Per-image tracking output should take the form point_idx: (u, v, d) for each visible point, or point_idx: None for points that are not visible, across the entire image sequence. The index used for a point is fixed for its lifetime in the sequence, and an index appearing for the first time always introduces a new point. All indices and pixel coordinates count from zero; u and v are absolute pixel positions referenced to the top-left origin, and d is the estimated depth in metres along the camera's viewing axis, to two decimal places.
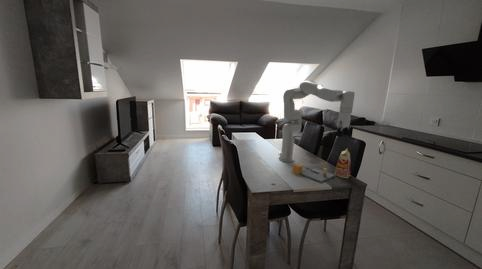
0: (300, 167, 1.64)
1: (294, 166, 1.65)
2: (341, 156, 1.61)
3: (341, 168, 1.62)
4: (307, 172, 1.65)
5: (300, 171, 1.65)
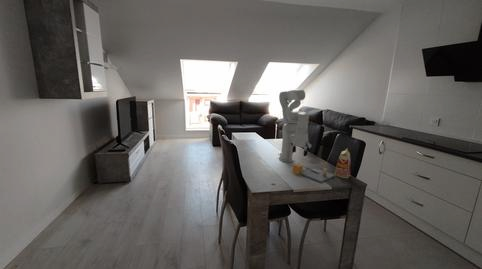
0: (300, 167, 1.64)
1: (294, 166, 1.65)
2: (341, 156, 1.61)
3: (341, 168, 1.62)
4: (307, 172, 1.65)
5: (300, 171, 1.65)
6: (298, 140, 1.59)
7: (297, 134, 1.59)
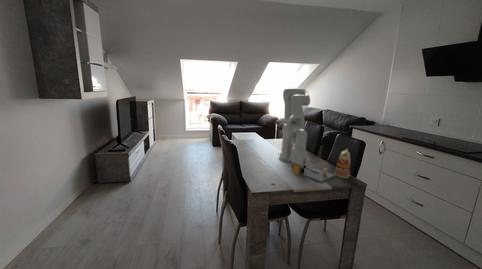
0: (300, 167, 1.64)
1: (294, 166, 1.65)
2: (341, 156, 1.61)
3: (341, 168, 1.62)
4: (307, 172, 1.65)
5: (300, 171, 1.65)
6: (296, 158, 1.62)
7: (295, 152, 1.62)
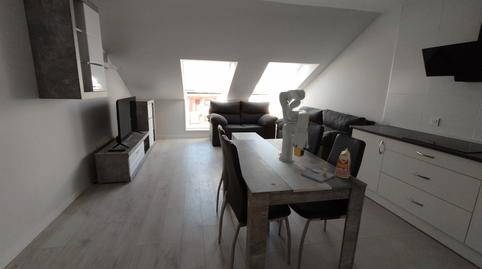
0: None
1: (296, 149, 1.63)
2: (341, 156, 1.61)
3: (341, 168, 1.62)
4: (307, 172, 1.65)
5: None
6: (297, 139, 1.60)
7: (297, 133, 1.60)
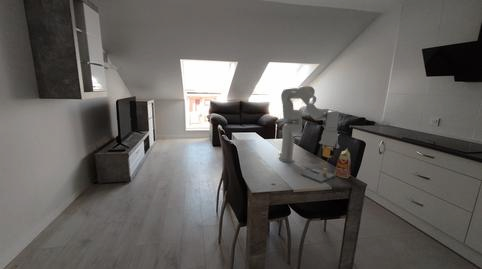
0: None
1: (324, 149, 1.56)
2: (341, 156, 1.61)
3: (341, 168, 1.62)
4: (307, 172, 1.65)
5: None
6: (327, 139, 1.53)
7: (326, 133, 1.53)
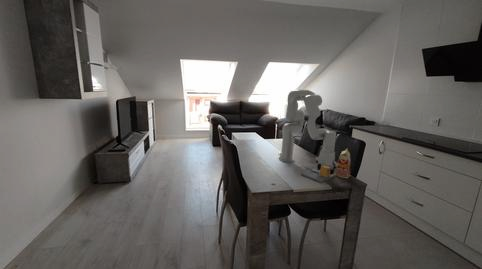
0: (328, 169, 1.58)
1: (322, 168, 1.59)
2: (341, 156, 1.61)
3: (341, 168, 1.62)
4: (307, 172, 1.65)
5: (328, 174, 1.59)
6: (324, 159, 1.57)
7: (323, 152, 1.57)
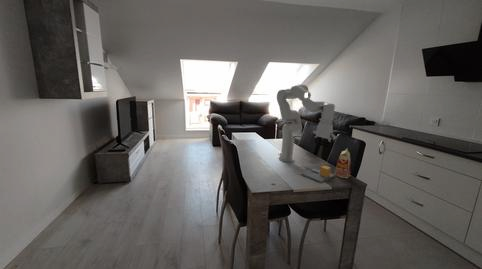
0: (328, 169, 1.58)
1: (322, 168, 1.59)
2: (341, 156, 1.61)
3: (341, 168, 1.62)
4: (307, 172, 1.65)
5: (328, 174, 1.59)
6: (322, 131, 1.57)
7: (321, 125, 1.57)
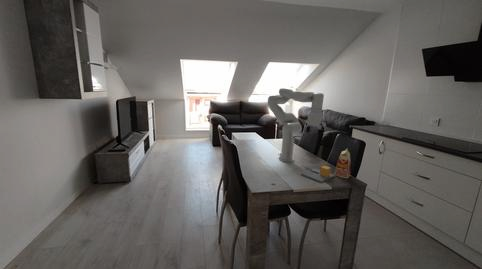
0: (328, 169, 1.58)
1: (322, 168, 1.59)
2: (341, 156, 1.61)
3: (341, 168, 1.62)
4: (307, 172, 1.65)
5: (328, 174, 1.59)
6: (312, 120, 1.65)
7: (312, 114, 1.65)
